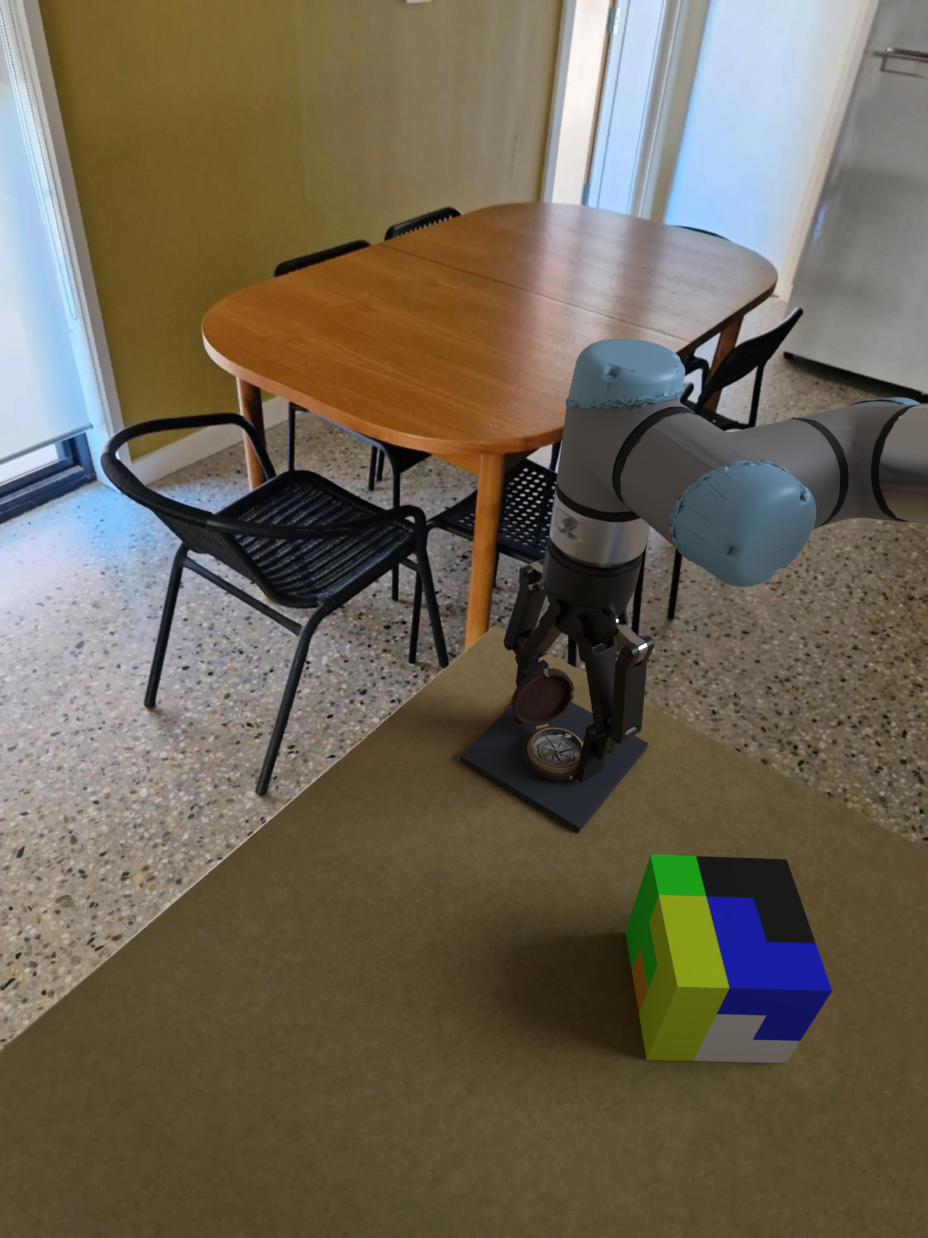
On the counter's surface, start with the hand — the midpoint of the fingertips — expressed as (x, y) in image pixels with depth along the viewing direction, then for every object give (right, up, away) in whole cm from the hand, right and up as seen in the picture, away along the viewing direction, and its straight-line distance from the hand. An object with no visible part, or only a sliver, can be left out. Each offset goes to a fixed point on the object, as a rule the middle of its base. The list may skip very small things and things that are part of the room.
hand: (557, 744), depth 83 cm
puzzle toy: (+9, -16, -17) cm, 25 cm away
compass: (0, -1, 0) cm, 1 cm away
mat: (0, -1, +1) cm, 2 cm away
